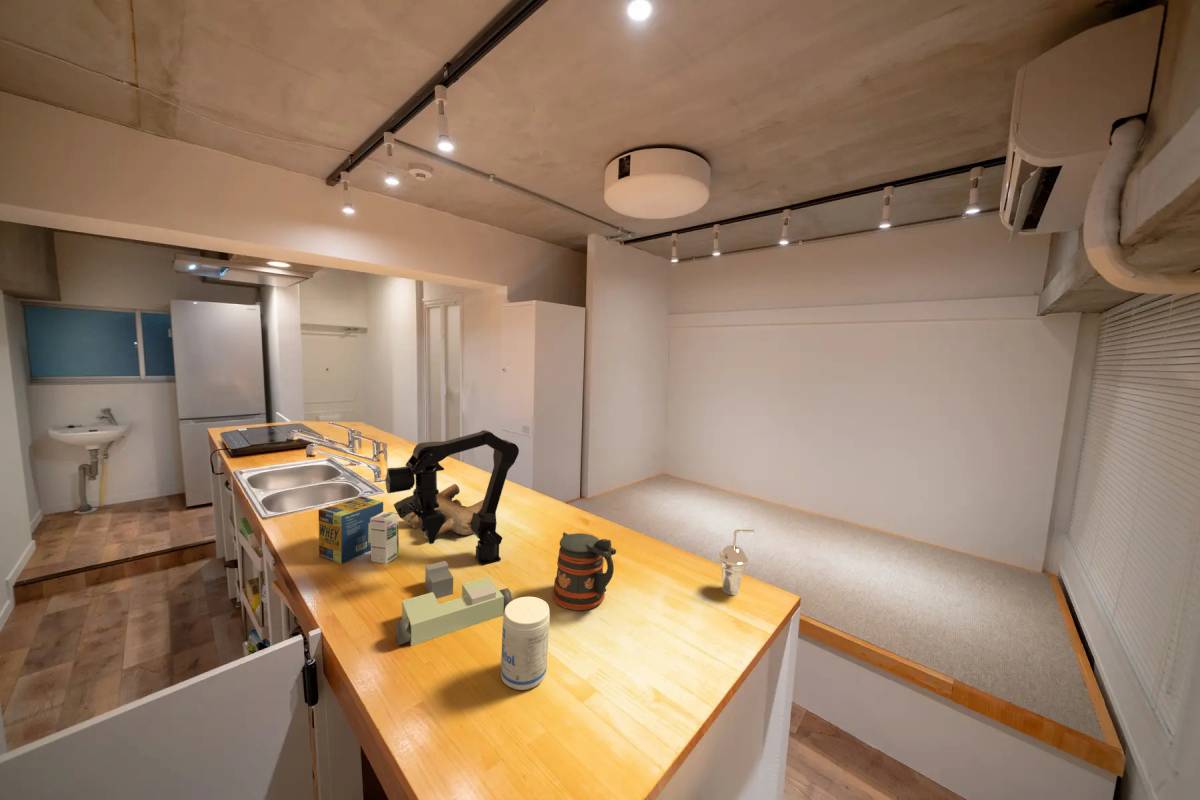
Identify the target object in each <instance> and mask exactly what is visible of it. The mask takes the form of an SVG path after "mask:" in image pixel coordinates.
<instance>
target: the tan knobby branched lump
mask: <svg viewBox="0 0 1200 800" xmlns="http://www.w3.org/2000/svg"><path fill="white" fill-rule="evenodd" d="M460 493H461V491H460V488H459V486H458V485H457V484H456V483H455V484H454V483H453V484H451V486H448V487H447V488H445V489H444V490H442V491H439V494H437V502H438V504H439V508H434V510H441V511H442V512H443V513H444V514H445V515H446V522H445V523H444V524H443V525H442V527H441V529H440V530H439V533H438V535H439V534H443V533H445V532H448V531H452V532H453V533H455V534H458V535H462V536H469V535H472V534H473V532H472V531H471V525H470V522H471V520H472V516H473V513H474V512H475V513H478V512H479V511H480V510H481V508H482V505H483V502H484V499H482V500H480V501H478V502H477V503H474V504H473V505H469V506H467V505H466V506H465V505H462V502H461V501H460V500H459V499H457V498H455V497H456V496H457V495H458V494H460ZM454 498H455V499H454ZM453 499H454V500H453ZM401 519H402V520H404V522H405V523H406V524H407V526H409V527H412V529H413V530H417V529H418V528H419V526H420V523H419V519H418V516H417V515H416V514H415V513H414V512H412V513H410V514H408V515H406V516H405V517H403V518H401ZM423 533H424V537H425V538H426V539H428V537H427V532H423ZM473 535H474V534H473Z"/></svg>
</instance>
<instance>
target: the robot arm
mask: <svg viewBox="0 0 1200 800" xmlns="http://www.w3.org/2000/svg"><path fill="white" fill-rule="evenodd" d="M485 445H487V446H488V447H489V448H492V449H493V456H492V457H493V468H492V471H491V475H490V478H489V482H488V486H487V488H486V492H485V495H484V498H483V500H484V502H483V505H482V508H481V510H480V511H479V512H478V513H475V512H474V513H473V516H472V520H471V522H470V525H471V531H472V532H473V535H474V536H475V537H476V538H477V539H478V540H477V545H476V546H475V556H474V557H475V559H476V560H477V561H478V563H480V565H482V566H485V565H487V564H491V563H496V562H499V561H501V560H502V558H501V557H500V544H501V543H502V540H503V537H502V536H501V535H500V534H499V533H498V532H497V531H496V530H497V514H496V513H497V510H498V506H499V503H500V499H501V496H502V493H503V489H504V486H505V483H506V479H507V475H508V472H509V470H510V469H511V468H512V466H514V465H515V463H516V460H517V458H518V456H519V452H520V448H519V447H518V445H517V444H516V443H513V442H511V441H510V440H507V439H501V438H500V437H499V436H497V435H495V434H494V433H493V432H491V431H489V430H486V429H483V430H480V431H478V432H474V433H471V434H467V435H463V436H459V437H456V438H453V439H448V440H444V441H425V442H420V443H418V444H416V445H415V447H414V448H413V451H412V454H411V456H410V458H409V459H408V460H407V461H406V463H405V466H400V467H399V466H398V467H388V468H387V469H386V475H385V478H384V479H385V480H384V481H385V489H386V493H388V494H392V493H393V494H394V493H399V492H405V491H410V490H411V489H413V488H414V486H415V488H414V489H413V492H412V494H411V495H410V496H407V497H405V498H403V499H401V500H399V501H397V502H395V503H394V504H393V507H394V508H395V511H396V513H398V518H399V519H402V518H403V517H405V516H406V515H408V514H410V513H412V512H414V513H415V514H416V515H417V516H418V519H419V523H420V524H419V526H420V530H421V532H422V533H424V532H427V537H428V538H427V540H428V544H429V545H432V544H434V543H435V540H436V539H437V537H438V535H439V534H438V533H439V530H440V529H441V527H442V525H443V524H444V523H445V522H446V515H445V514H444V513H443V512H442V511H441V510H434V508H439V504H438V502H437V494H439V493H440V491H439V489H438V477H437V475H438V474H437V473H438V472H440V471H444V470H445V468H444V467H443V466H442V465H441V464H440V462H442V461H443V460H445V459H446V458H447V457H450V456H452V455H454V454H459V453H462V452H464V451H465V452H466V451H468V450H472V449H475V448H479V447H482V446H485Z"/></svg>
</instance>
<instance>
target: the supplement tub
mask: <svg viewBox="0 0 1200 800" xmlns="http://www.w3.org/2000/svg"><path fill="white" fill-rule="evenodd" d="M502 616H503V617H502V618H503V619H502V633H501V634H502V635H501V655H500V656H501V659H500V676H501V677H500V678H501V679H502V682H503V683H504V684H505V685H506V686H507V687H509V688H512V689H514V690H517V691H524V690H531V689H532V688H535V687H536V686H538V685H539V684H541V683H542V681H543V680H544V679H545V677H546V675H547V669H548V667H547V666H548V649H549V632H550V618H551V617H550V607H549V604H548V603H547V601H545V600H543V599H541V598H538V597H536V596H523V597H522V596H521V597H518V598H515V599H512V601H511V602H510V603H509V604H508V605H507V606H506V607H505V610H504V611H503V615H502Z"/></svg>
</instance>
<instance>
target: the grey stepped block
mask: <svg viewBox="0 0 1200 800" xmlns="http://www.w3.org/2000/svg"><path fill="white" fill-rule="evenodd" d="M424 567H425V568H424V570H425V571H424V572H425V574H424V575H425V576H424V580H425V581H424V582H425V583H424V586H425V589H426V590H427V593H431V592H433V593H434V595H435V597H436V599H437V600H438V599H441V598H444V597H448V596H451V595H453V594H454V576H453V574H452V573H451V571H450V569H449V564H448V562H447V561H446V560H444V561H439V562H435V563H430V564H427V565H425V566H424Z"/></svg>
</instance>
